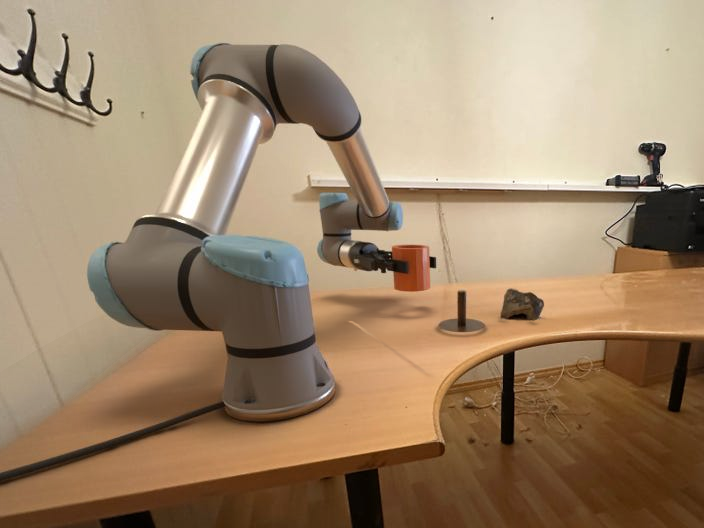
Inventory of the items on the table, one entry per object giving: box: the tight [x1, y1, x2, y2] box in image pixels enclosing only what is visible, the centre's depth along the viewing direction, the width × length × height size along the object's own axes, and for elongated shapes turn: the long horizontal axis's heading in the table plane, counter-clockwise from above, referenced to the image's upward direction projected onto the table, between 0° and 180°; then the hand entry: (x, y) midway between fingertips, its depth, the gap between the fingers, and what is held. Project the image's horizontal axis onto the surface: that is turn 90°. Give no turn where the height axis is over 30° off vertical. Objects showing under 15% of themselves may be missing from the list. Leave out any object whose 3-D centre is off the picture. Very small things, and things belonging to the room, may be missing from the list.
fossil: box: [500, 288, 545, 321], centre depth 102 cm, size 11×9×10 cm
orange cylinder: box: [391, 244, 431, 293], centre depth 99 cm, size 9×9×10 cm
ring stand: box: [438, 289, 486, 333], centre depth 93 cm, size 11×11×9 cm
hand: (421, 265), depth 96 cm, fingers closed on orange cylinder, 9 cm apart
